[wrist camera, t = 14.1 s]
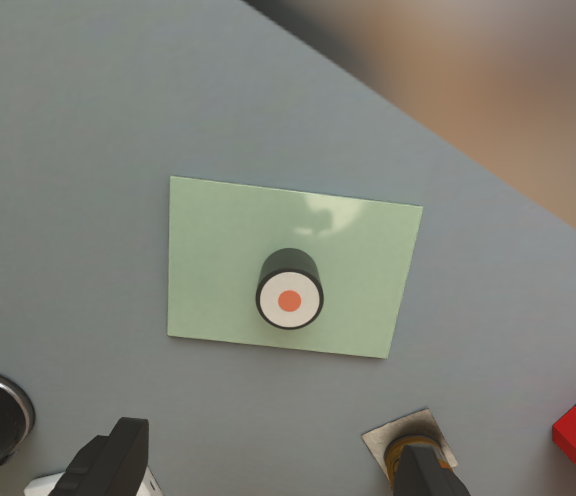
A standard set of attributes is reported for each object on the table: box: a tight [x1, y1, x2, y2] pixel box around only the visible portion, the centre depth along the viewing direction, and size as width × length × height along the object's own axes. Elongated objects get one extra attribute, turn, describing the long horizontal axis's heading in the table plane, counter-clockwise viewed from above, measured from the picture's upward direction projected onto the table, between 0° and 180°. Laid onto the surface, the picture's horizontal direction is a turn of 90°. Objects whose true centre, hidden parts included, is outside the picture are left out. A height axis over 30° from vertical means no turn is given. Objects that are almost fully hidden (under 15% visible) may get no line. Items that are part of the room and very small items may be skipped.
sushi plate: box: [167, 176, 424, 359], centre depth 27 cm, size 20×14×1 cm
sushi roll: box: [255, 248, 324, 330], centre depth 24 cm, size 5×5×5 cm
